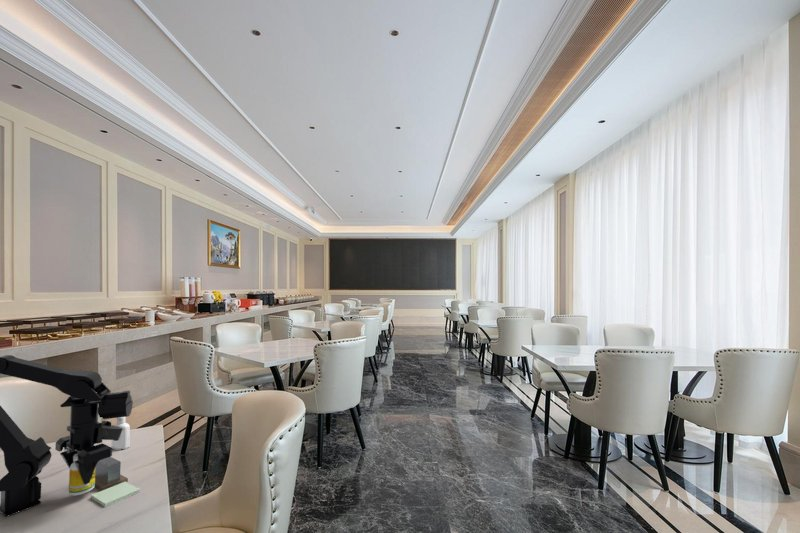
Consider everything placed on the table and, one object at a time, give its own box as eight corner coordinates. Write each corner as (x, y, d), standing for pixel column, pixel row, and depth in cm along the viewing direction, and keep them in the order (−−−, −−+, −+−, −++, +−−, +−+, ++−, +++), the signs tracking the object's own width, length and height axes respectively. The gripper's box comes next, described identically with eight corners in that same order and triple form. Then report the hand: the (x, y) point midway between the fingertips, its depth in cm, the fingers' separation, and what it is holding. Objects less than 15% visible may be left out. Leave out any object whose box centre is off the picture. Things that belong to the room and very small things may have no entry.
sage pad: (105, 507, 96) (105, 503, 96) (91, 498, 100) (91, 495, 100) (139, 492, 103) (139, 489, 103) (125, 484, 107) (125, 481, 107)
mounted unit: (102, 491, 103) (103, 469, 104) (86, 482, 108) (87, 460, 109) (127, 481, 108) (128, 460, 109) (111, 473, 114) (111, 452, 114)
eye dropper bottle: (115, 452, 128) (116, 416, 128) (110, 447, 131) (111, 412, 132) (130, 448, 131) (131, 412, 132) (125, 443, 135) (126, 409, 135)
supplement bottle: (69, 489, 101) (70, 452, 102) (94, 483, 105) (95, 447, 105) (68, 498, 97) (69, 460, 98) (95, 491, 101) (96, 454, 101)
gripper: (135, 417, 104) (133, 476, 103) (103, 407, 113) (102, 460, 113) (85, 431, 94) (83, 496, 94) (55, 418, 104) (53, 476, 103)
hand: (82, 480), depth 101 cm, fingers closed on supplement bottle, 5 cm apart
